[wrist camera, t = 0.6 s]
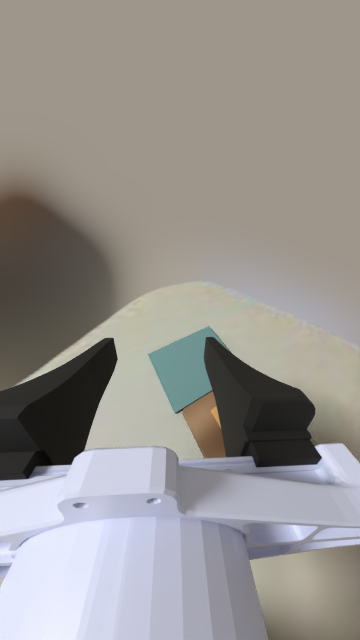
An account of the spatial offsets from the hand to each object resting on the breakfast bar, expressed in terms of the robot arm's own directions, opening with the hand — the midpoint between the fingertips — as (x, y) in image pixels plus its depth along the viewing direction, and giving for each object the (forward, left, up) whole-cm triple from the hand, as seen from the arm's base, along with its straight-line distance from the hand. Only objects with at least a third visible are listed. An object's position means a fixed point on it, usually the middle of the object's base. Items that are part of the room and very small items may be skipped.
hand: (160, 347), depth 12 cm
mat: (+3, -7, -17) cm, 18 cm away
